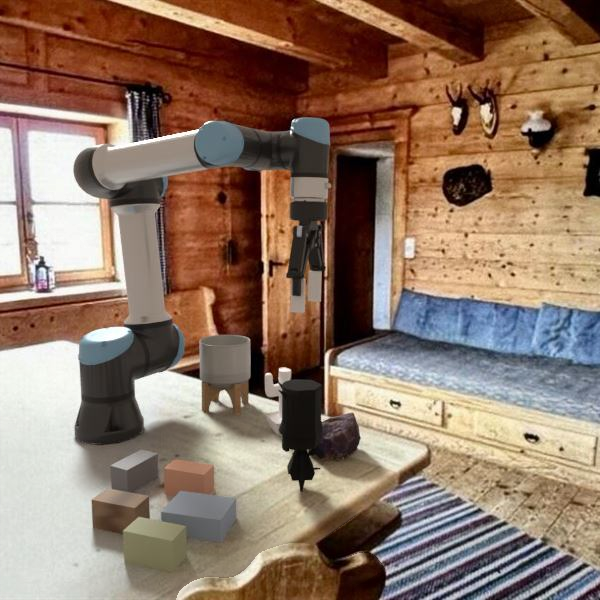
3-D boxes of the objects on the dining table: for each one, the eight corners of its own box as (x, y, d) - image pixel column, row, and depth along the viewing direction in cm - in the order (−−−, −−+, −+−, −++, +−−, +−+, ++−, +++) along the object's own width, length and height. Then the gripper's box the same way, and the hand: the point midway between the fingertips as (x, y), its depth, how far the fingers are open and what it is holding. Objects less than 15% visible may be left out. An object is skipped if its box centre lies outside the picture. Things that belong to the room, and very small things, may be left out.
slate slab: (161, 535, 90) (160, 511, 89) (180, 512, 96) (180, 490, 96) (221, 544, 87) (220, 520, 87) (236, 520, 94) (236, 498, 94)
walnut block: (92, 528, 91) (91, 499, 90) (108, 516, 95) (107, 488, 94) (135, 537, 89) (134, 508, 88) (150, 524, 92) (149, 495, 92)
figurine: (309, 433, 130) (310, 370, 128) (271, 440, 126) (271, 375, 124) (296, 423, 137) (296, 362, 134) (259, 429, 133) (259, 367, 130)
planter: (192, 404, 149) (190, 338, 146) (234, 395, 157) (234, 332, 154) (215, 419, 139) (214, 348, 136) (260, 408, 146) (259, 341, 144)
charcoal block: (127, 496, 101) (126, 470, 100) (111, 491, 103) (110, 465, 102) (158, 478, 108) (157, 453, 108) (142, 473, 110) (141, 449, 109)
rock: (305, 458, 120) (330, 475, 112) (299, 420, 119) (324, 436, 110) (349, 439, 126) (377, 455, 117) (345, 403, 124) (372, 416, 115)
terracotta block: (164, 494, 102) (163, 468, 101) (175, 484, 106) (175, 459, 105) (204, 501, 100) (204, 474, 99) (214, 490, 104) (214, 465, 103)
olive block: (124, 562, 82) (122, 530, 82) (139, 547, 86) (138, 516, 85) (173, 573, 80) (172, 540, 79) (186, 557, 84) (186, 526, 83)
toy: (275, 479, 108) (275, 377, 105) (323, 477, 109) (325, 377, 106) (277, 501, 100) (278, 392, 97) (329, 499, 101) (331, 391, 98)
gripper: (312, 199, 99) (309, 319, 102) (340, 201, 123) (336, 298, 126) (271, 198, 101) (269, 316, 104) (306, 201, 124) (304, 296, 128)
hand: (306, 306), depth 115 cm, fingers open, 13 cm apart
